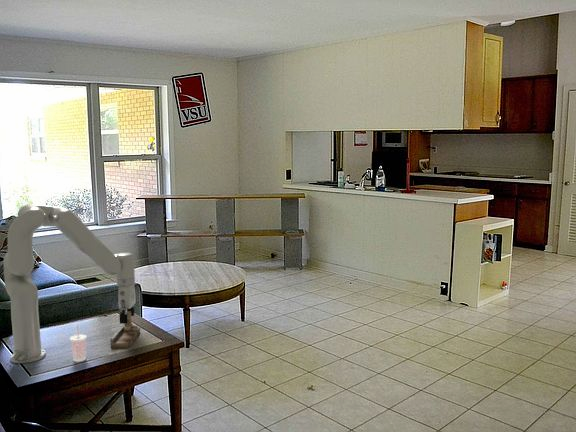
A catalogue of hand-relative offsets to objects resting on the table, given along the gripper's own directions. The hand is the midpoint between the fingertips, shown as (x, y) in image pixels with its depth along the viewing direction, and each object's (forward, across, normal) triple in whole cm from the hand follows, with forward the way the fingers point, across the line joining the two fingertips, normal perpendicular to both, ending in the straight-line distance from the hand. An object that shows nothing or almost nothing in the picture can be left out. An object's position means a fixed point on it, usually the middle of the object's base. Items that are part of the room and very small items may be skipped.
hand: (127, 319), depth 232 cm
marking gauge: (+5, 0, -2) cm, 5 cm away
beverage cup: (+7, -26, +11) cm, 29 cm away
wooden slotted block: (+7, -6, -1) cm, 9 cm away
